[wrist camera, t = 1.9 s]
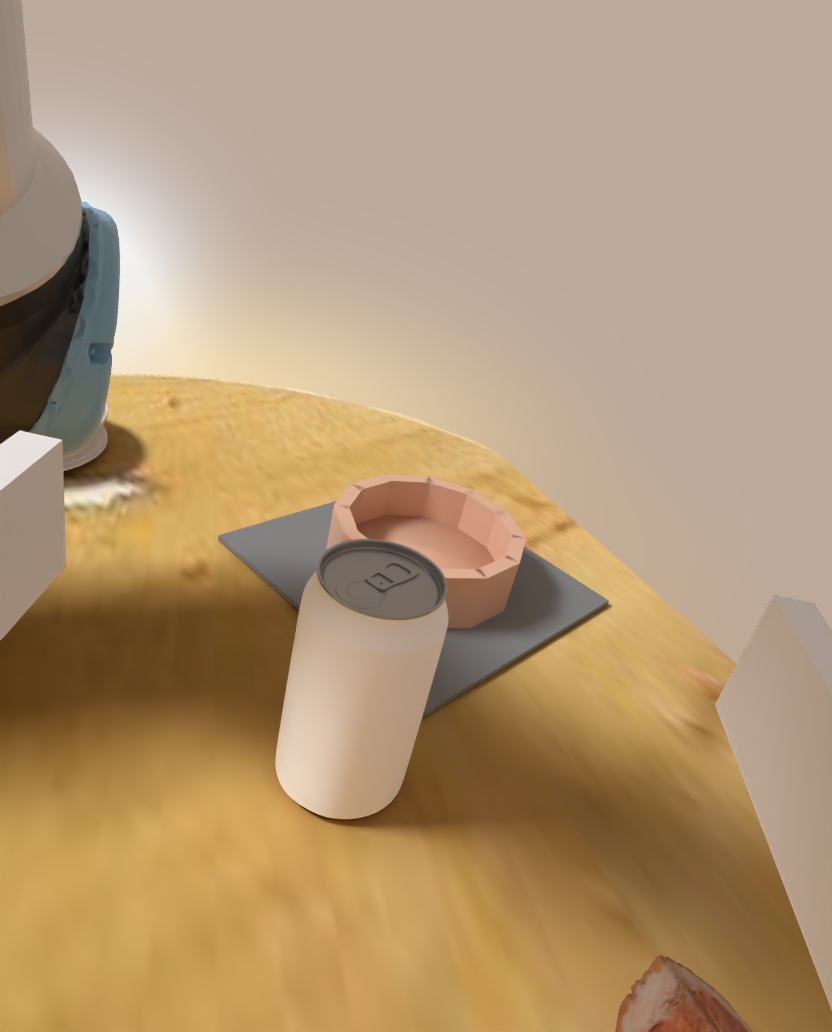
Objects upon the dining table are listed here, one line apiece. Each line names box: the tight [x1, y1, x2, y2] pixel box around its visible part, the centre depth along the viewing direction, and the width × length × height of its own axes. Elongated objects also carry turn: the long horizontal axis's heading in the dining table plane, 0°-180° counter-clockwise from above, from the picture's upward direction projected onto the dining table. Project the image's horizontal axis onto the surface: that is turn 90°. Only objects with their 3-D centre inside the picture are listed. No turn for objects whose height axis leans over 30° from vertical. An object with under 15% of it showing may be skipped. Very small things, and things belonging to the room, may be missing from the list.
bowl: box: [326, 474, 526, 629], centre depth 53 cm, size 13×13×4 cm
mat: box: [218, 501, 609, 718], centre depth 54 cm, size 20×20×1 cm
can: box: [275, 539, 448, 819], centre depth 35 cm, size 6×6×12 cm
